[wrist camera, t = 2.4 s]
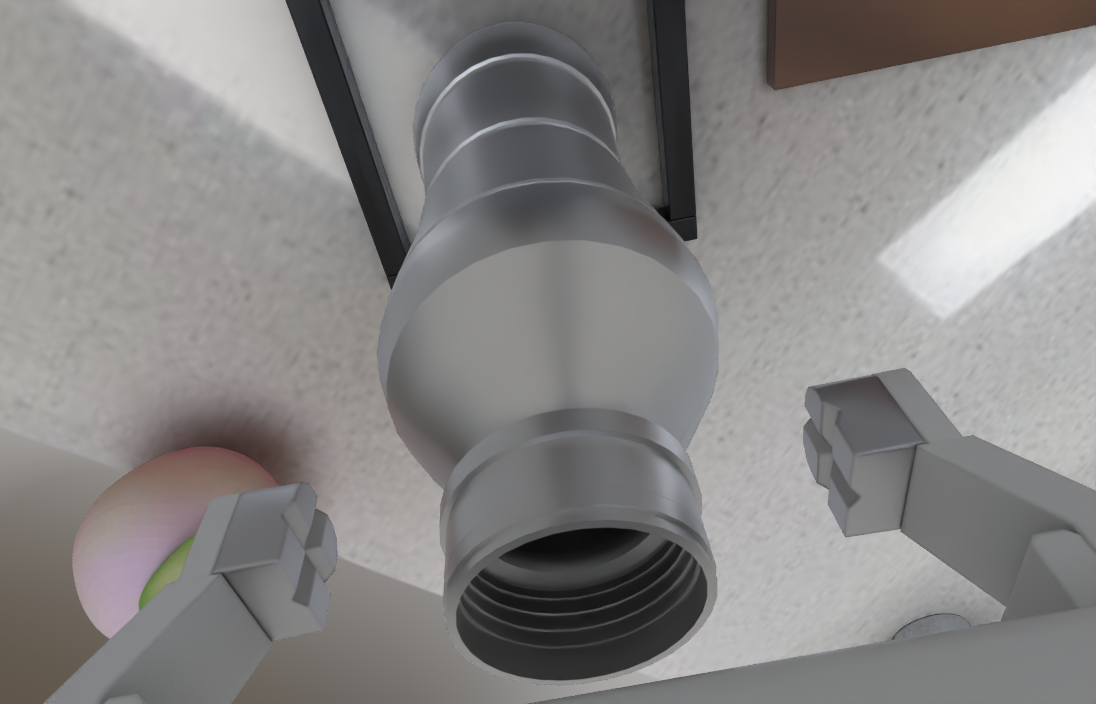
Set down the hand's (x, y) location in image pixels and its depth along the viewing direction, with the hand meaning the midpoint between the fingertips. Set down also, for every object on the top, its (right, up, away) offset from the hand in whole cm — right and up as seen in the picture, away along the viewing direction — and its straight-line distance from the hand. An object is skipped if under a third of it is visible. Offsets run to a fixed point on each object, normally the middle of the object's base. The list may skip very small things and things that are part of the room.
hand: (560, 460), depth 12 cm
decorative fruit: (-16, -4, +23) cm, 28 cm away
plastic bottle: (-2, +10, +14) cm, 17 cm away
